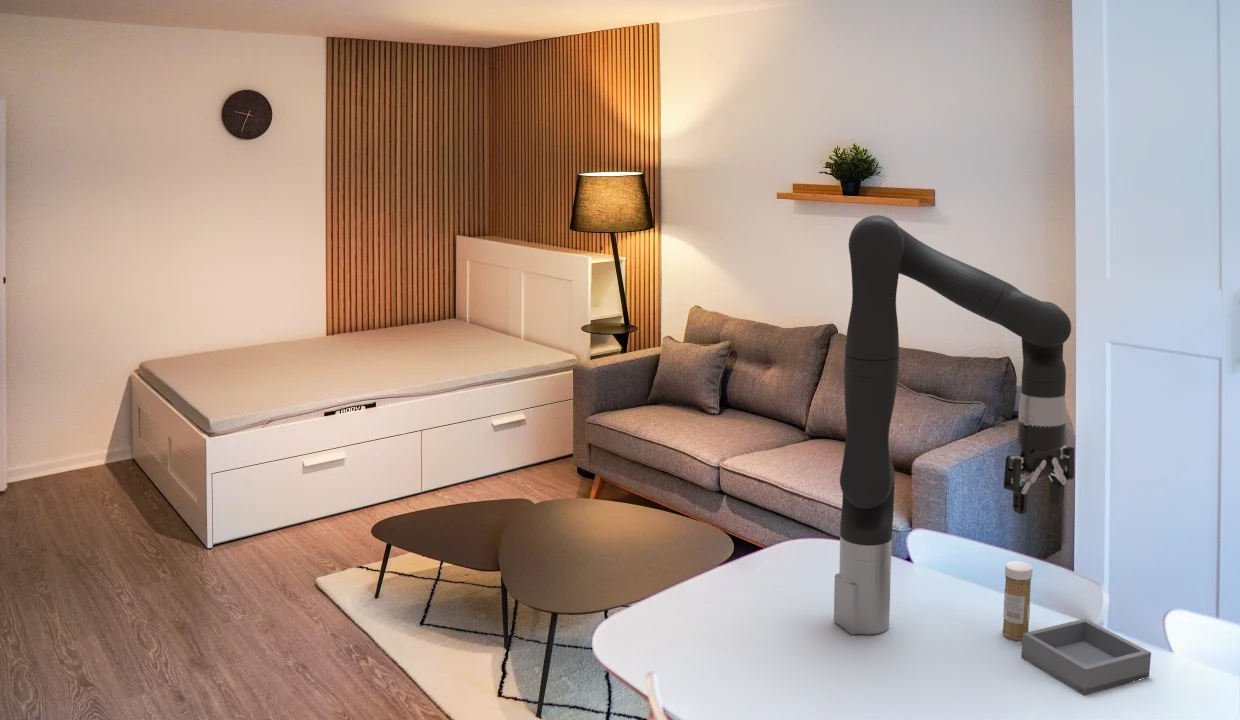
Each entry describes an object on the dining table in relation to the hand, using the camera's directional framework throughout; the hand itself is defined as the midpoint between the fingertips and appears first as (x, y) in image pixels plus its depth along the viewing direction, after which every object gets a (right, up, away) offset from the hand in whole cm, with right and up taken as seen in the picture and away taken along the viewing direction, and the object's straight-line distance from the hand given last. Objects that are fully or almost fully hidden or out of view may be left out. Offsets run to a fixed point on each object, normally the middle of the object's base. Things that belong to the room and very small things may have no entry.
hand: (1037, 508), depth 184 cm
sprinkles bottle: (-2, -24, +6) cm, 25 cm away
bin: (+5, -26, -6) cm, 27 cm away
